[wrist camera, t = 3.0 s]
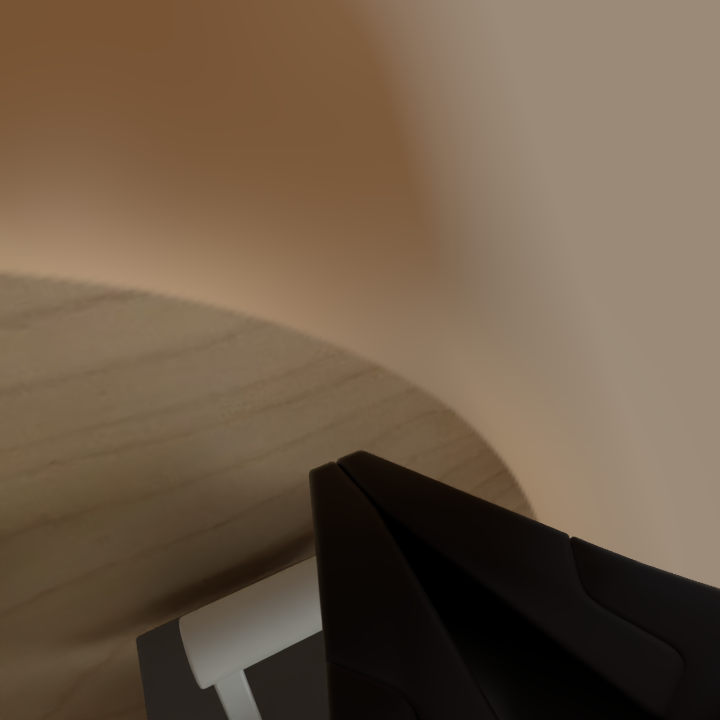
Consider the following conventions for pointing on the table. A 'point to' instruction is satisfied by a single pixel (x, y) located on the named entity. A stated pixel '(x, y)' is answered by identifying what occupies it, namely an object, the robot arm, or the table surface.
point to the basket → (241, 655)
